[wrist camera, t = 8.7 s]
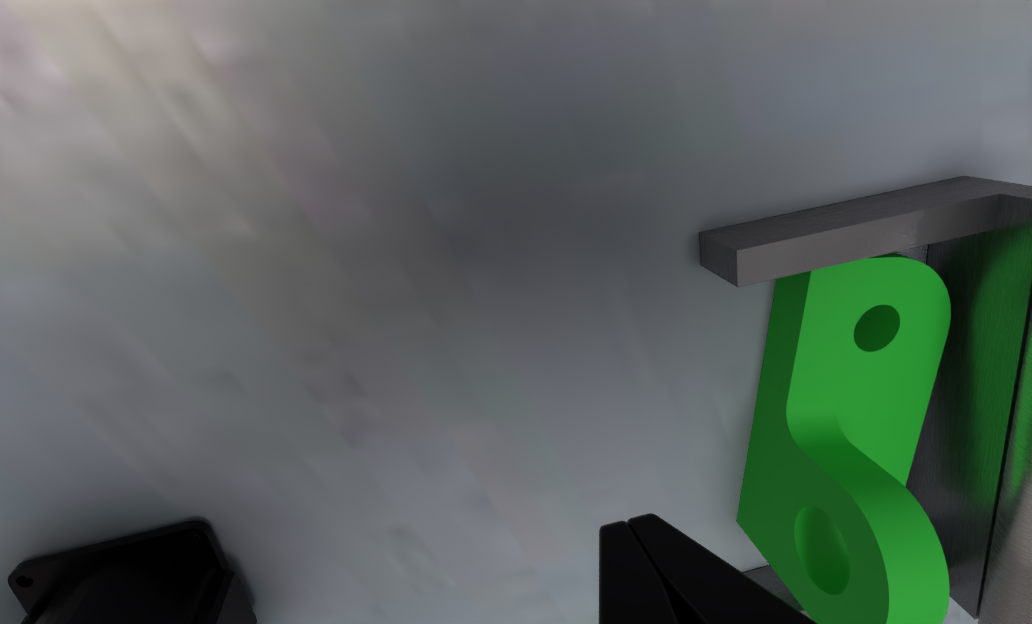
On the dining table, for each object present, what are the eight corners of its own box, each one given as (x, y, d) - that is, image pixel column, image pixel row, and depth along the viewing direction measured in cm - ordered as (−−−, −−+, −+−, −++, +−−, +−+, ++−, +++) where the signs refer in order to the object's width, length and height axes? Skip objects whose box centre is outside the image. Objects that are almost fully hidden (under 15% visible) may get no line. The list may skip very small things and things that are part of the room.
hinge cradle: (718, 599, 27) (806, 743, 21) (699, 232, 20) (818, 289, 15) (1016, 515, 28) (1177, 627, 22) (1086, 150, 22) (1335, 171, 16)
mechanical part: (858, 503, 27) (1032, 661, 19) (734, 517, 26) (866, 690, 18) (923, 240, 22) (1177, 313, 15) (778, 245, 21) (973, 326, 14)
